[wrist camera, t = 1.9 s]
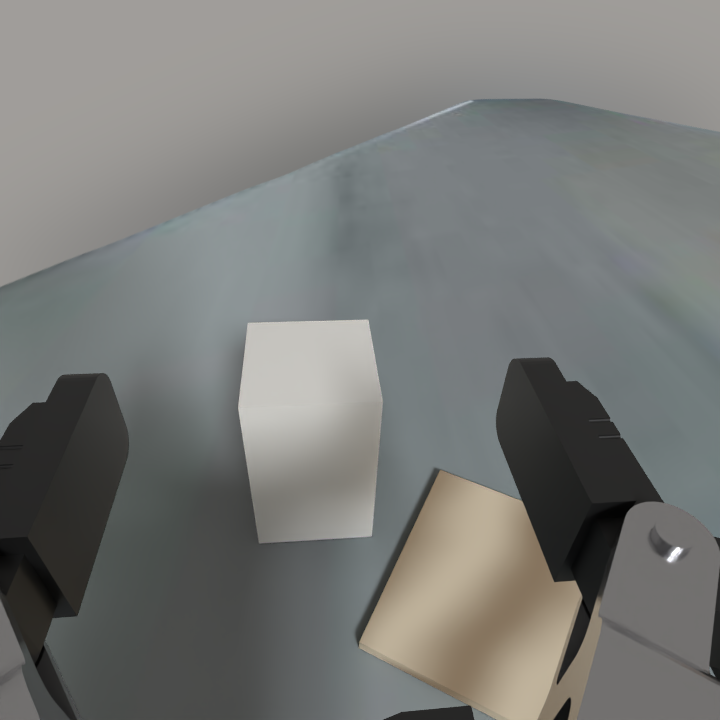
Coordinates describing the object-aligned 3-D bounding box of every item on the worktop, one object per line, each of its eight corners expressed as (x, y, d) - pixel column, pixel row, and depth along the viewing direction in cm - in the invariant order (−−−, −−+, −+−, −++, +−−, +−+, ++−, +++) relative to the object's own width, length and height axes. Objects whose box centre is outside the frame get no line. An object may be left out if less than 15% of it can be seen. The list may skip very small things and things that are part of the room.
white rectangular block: (258, 543, 29) (238, 407, 22) (264, 456, 33) (248, 322, 27) (371, 536, 29) (382, 401, 23) (361, 451, 34) (368, 319, 27)
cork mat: (358, 647, 25) (359, 642, 24) (439, 476, 32) (440, 469, 32) (612, 779, 21) (617, 775, 21) (633, 551, 29) (637, 545, 28)
